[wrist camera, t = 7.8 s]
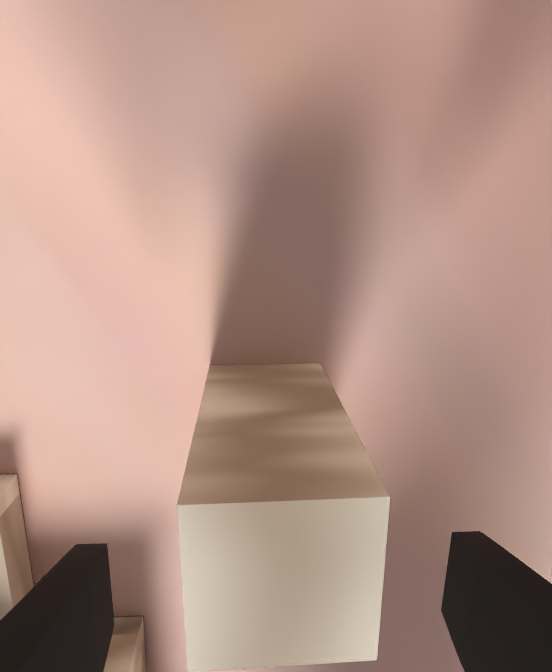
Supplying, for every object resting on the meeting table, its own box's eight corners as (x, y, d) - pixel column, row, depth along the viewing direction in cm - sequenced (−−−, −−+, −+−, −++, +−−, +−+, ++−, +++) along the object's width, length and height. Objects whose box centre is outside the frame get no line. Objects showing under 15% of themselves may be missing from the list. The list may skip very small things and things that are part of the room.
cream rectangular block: (320, 363, 16) (390, 497, 8) (317, 461, 17) (376, 660, 9) (209, 365, 16) (176, 505, 8) (213, 464, 17) (187, 672, 9)
